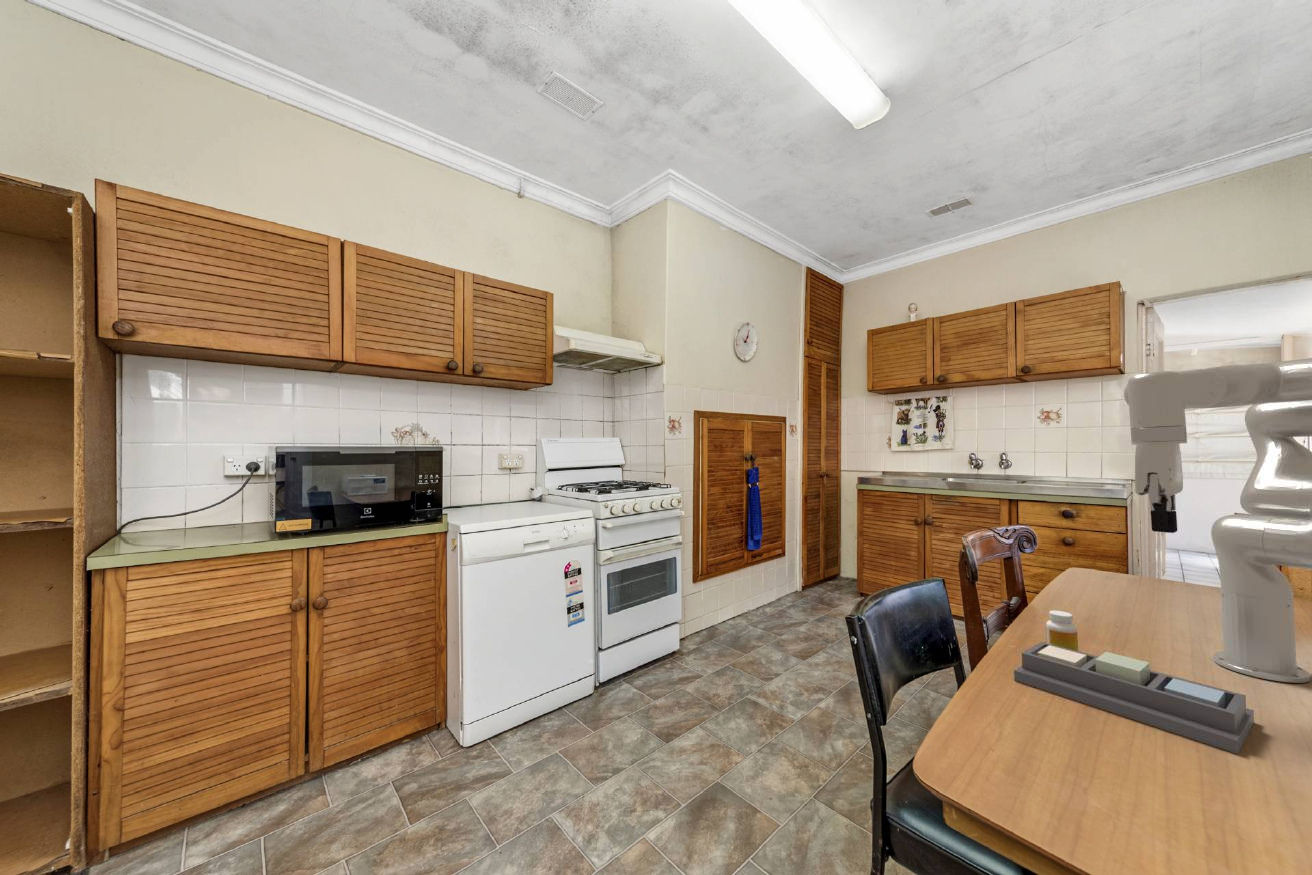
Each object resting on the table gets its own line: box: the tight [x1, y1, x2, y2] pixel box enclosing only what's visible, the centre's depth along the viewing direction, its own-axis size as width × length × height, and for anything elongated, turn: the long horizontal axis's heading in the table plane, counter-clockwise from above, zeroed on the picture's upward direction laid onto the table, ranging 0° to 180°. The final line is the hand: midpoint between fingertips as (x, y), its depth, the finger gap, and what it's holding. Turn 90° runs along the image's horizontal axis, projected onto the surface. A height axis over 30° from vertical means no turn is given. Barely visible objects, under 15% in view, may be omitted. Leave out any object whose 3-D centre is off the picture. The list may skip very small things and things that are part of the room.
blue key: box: [1164, 678, 1226, 709], centre depth 83 cm, size 6×6×3 cm
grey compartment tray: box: [1013, 641, 1255, 755], centre depth 90 cm, size 15×29×5 cm, turn 33°
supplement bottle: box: [1045, 610, 1079, 651], centre depth 108 cm, size 5×5×10 cm
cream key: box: [1038, 645, 1087, 668], centre depth 98 cm, size 6×6×3 cm
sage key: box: [1095, 651, 1151, 686], centre depth 90 cm, size 6×6×3 cm
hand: (1164, 531), depth 94 cm, fingers closed
